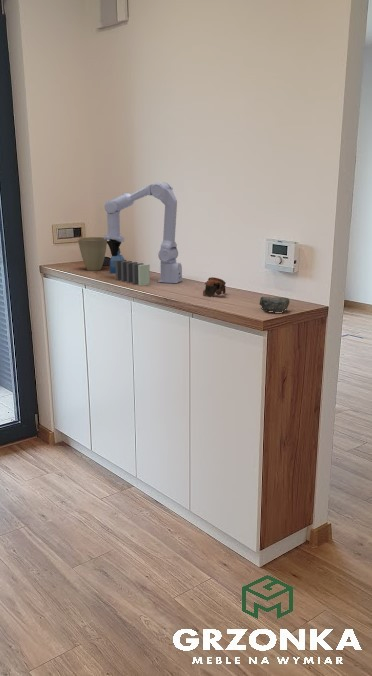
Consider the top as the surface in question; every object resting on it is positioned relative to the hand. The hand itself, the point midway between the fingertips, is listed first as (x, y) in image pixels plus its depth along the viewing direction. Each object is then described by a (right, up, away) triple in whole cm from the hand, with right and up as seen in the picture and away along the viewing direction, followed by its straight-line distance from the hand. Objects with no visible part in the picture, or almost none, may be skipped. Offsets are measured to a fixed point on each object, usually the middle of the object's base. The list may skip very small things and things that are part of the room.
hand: (114, 256), depth 277 cm
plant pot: (-14, -3, +28) cm, 31 cm away
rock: (+65, -29, -64) cm, 95 cm away
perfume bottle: (-1, -6, +18) cm, 19 cm away
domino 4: (+12, -14, -12) cm, 22 cm away
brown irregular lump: (+46, -21, -37) cm, 63 cm away
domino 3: (+9, -13, -8) cm, 18 cm away
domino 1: (+3, -11, -1) cm, 12 cm away
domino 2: (+6, -12, -5) cm, 14 cm away
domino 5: (+15, -15, -15) cm, 26 cm away
